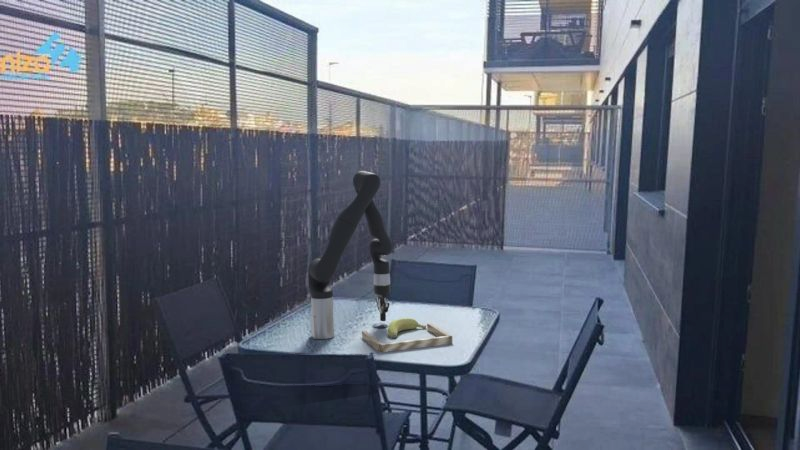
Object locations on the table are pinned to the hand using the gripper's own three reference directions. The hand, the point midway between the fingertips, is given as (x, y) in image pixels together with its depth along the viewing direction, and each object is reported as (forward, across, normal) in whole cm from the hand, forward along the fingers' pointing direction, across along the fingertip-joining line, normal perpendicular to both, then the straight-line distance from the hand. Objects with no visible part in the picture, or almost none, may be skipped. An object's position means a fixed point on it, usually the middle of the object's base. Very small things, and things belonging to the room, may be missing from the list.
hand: (383, 320), depth 314 cm
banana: (+2, +18, +5) cm, 19 cm away
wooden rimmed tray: (+2, +30, 0) cm, 30 cm away
